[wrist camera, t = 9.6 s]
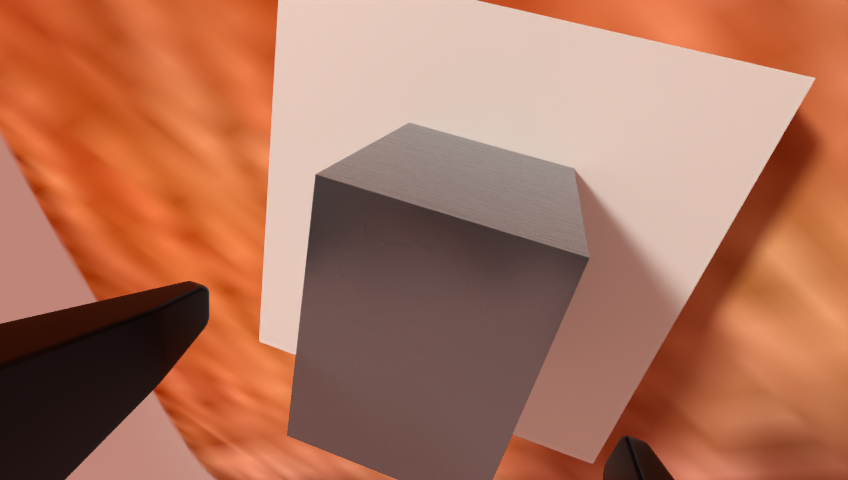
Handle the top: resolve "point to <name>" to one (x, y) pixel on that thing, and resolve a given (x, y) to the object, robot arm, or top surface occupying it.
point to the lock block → (431, 301)
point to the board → (541, 138)
